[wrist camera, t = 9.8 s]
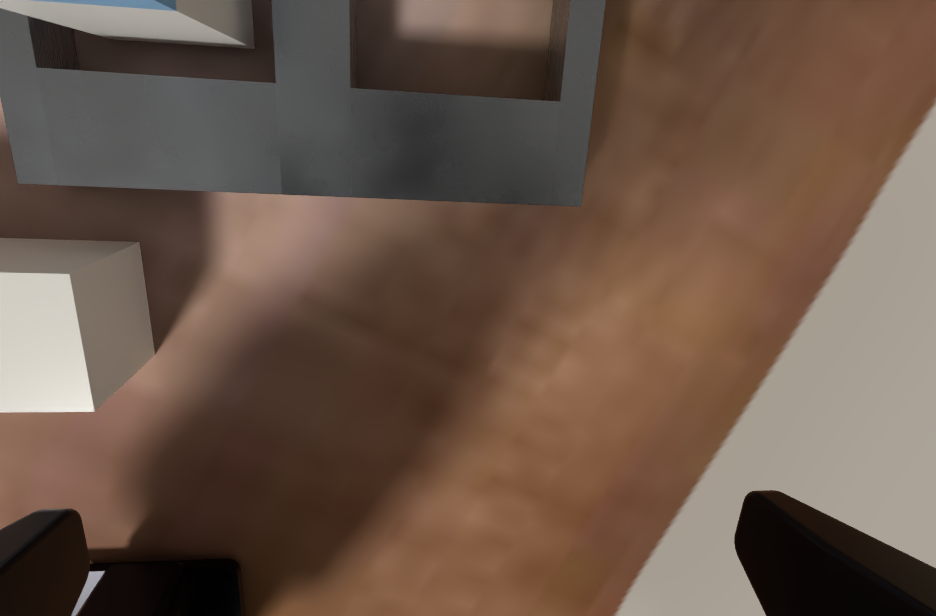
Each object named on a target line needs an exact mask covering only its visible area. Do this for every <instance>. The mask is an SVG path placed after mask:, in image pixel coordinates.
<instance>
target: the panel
mask: <svg viewBox="0 0 936 616" xmlns="http://www.w3.org/2000/svg"><path fill="white" fill-rule="evenodd" d="M271 2H272V21H273V40H274V59H275V78H276V83H267V82H251V81H236V80H221V79H205V78H190V77H175V76H159V75H144V74H128V73H113V72H98V71H82V70H79V69H78V63H77V56H76V50H75V44H74V37H73V31H72V28H70V27H66V26H62V25H59V24H55V23H52V22H48V21H45V20H41V19H37V18H34V17H30V16H27V15H23V14H20V13H16V12H12V11H9V10H5V9H2V8H0V97H1V102H2V107H3V112H4V117H5V122H6V127H7V132H8V137H9V142H10V147H11V151H12V156H13V161H14V166H15V171H16V176H17V181H18V184H41V185H65V186H90V187H114V188H139V189H163V190H188V191H212V192H237V193H261V194H286V195H310V196H335V197H359V198H384V199H408V200H433V201H457V202H482V203H506V204H530V205H555V206H579V207H581V203H582V194H583V186H584V178H585V169H586V161H587V153H588V144H589V136H590V128H591V120H592V111H593V103H594V95H595V86H596V78H597V70H598V61H599V53H600V45H601V36H602V28H603V20H604V12H605V3H606V0H553V9H552V20H551V30H550V41H549V52H548V63H547V73H546V84H545V95H544V101H543V100H528V99H513V98H497V97H482V96H466V95H451V94H436V93H420V92H405V91H390V90H374V89H359V88H356V16H355V0H271Z"/></svg>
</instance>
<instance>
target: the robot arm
mask: <svg viewBox="0 0 936 616" xmlns="http://www.w3.org/2000/svg"><path fill="white" fill-rule="evenodd" d="M734 543H735V549H736V552H737V555H738V558H739V560H740V562H741V564H742V566H743V568H744V570H745V572H746V574H747V576H748V578H749V581H750V583H751V585H752V587H753V589H754V591H755V593H756V595H757V597H758V599H759V601H760V604H761V605H762V608H763V610H764V612H765V614H766V616H936V568H934V567H932V566H930V565H928V564H926V563H924V562H922V561H920V560H918V559H916V558H914V557H912V556H910V555H908V554H906V553H903V552H902V551H899V550H897V549H895V548H893V547H891V546H889V545H887V544H885V543H883V542H881V541H879V540H877V539H875V538H873V537H871V536H869V535H867V534H865V533H863V532H861V531H859V530H857V529H855V528H853V527H851V526H849V525H846V524H845V523H843V522H841V521H839V520H837V519H835V518H833V517H831V516H828V515H827V514H824V513H822V512H820V511H818V510H816V509H814V508H812V507H810V506H808V505H806V504H804V503H802V502H800V501H798V500H796V499H794V498H792V497H790V496H788V495H786V494H784V493H782V492H779V491H773V490H769V491H752V492H750V493H748V494H747V495H746V497H745V499H744V502H743V506H742V509H741V514H740V517H739V521H738V525H737V529H736V533H735V542H734ZM223 571H226V572H229V574H227V573H224V572H223ZM0 616H245V609H244V598H243V588H242V578H241V568H240V565H239V564H238V563H237V562H236V561H234V560H232V559H205V560H179V561H152V562H126V563H100V564H90V558H89V553H88V548H87V544H86V539H85V534H84V529H83V524H82V520H81V517H80V514H79V513H78V512H77V511H76V510H73V509H42V510H38V511H35V512H33V513H31V514H29V515H27V516H25V517H23V518H21V519H20V520H18V521H16V522H14V523H12V524H10V525H8V526H6V527H4V528H3V529H1V530H0Z"/></svg>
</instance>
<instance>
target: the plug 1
mask: <svg viewBox="0 0 936 616" xmlns="http://www.w3.org/2000/svg"><path fill="white" fill-rule="evenodd" d="M0 8H2V9H5V10H9V11H12V12H16V13H20V14H23V15H27V16H30V17H34V18H37V19H41V20H45V21H48V22H52V23H55V24H59V25H62V26H66V27H70V28H73V29H77V30H80V31H84V32H87V33H91V34H95V35H98V36H102V37H105V38H109V39H114V40H129V41H144V42H159V43H173V44H188V45H203V46H218V47H233V48H248V49H255V45H254V30H253V15H252V1H251V0H0Z"/></svg>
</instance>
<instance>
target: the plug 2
mask: <svg viewBox="0 0 936 616" xmlns="http://www.w3.org/2000/svg"><path fill="white" fill-rule="evenodd" d="M154 355H155V351H154V344H153V337H152V329H151V322H150V315H149V308H148V300H147V293H146V286H145V279H144V271H143V264H142V257H141V250H140V242H123V241H89V240H55V239H21V238H0V412H95V411H96V410H97V409H98V408H99V407H100V406H101V405H102V404H103V403H104V402H105V401H106V400H107V399H109V398H110V397H111V396H112V395H113V394H114V393H115V392H116V391H117V390H118V389H119V388H120V387H121V386H122V385H123V384H124V383H126V382H127V381H128V380H129V379H130V378H131V377H132V376H133V375H134V374H135V373H136V372H137V371H138V370H139V369H140V368H141V367H143V366H144V365H145V364H146V363H147V362H148V361H149V360H150V359H151V358H152V357H153V356H154Z"/></svg>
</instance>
